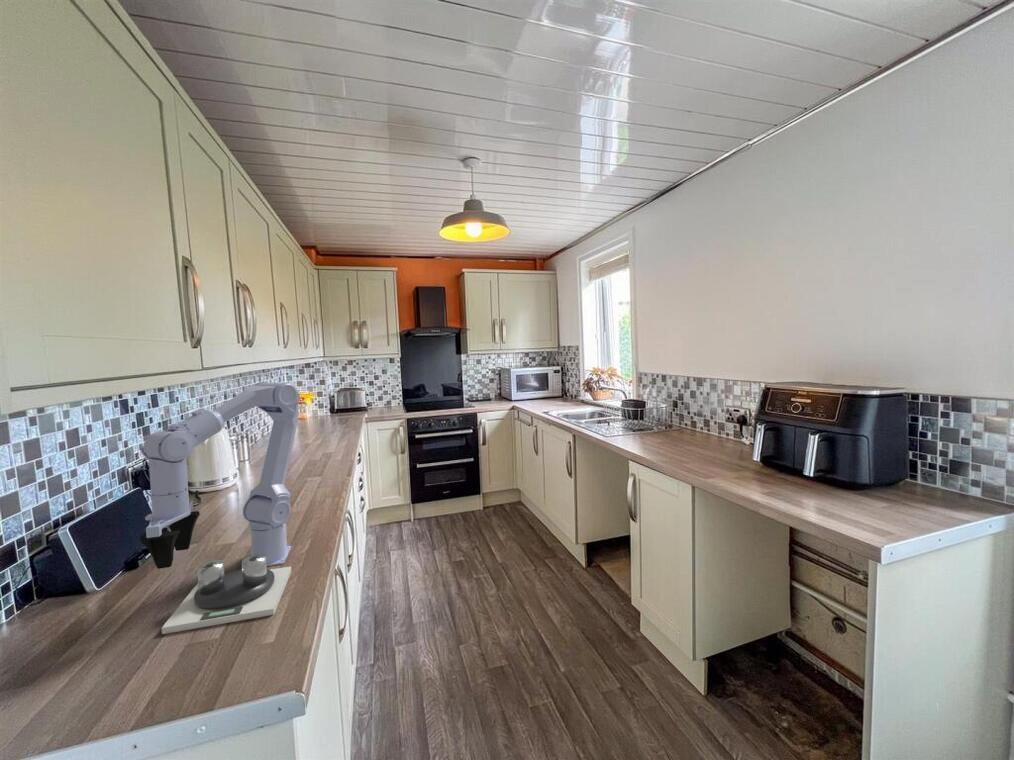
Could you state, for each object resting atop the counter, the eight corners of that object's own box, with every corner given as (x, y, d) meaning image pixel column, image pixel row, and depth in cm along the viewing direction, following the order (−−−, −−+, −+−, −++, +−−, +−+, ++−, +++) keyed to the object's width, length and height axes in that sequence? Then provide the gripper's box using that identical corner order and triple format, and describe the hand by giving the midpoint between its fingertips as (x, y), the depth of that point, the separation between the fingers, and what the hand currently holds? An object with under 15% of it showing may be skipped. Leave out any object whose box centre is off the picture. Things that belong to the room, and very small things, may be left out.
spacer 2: (245, 578, 88) (244, 555, 88) (268, 574, 90) (267, 552, 90) (240, 589, 84) (239, 565, 84) (264, 585, 86) (263, 561, 85)
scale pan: (210, 577, 91) (209, 573, 91) (281, 567, 95) (280, 563, 95) (181, 615, 77) (180, 611, 77) (265, 601, 81) (265, 597, 81)
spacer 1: (202, 585, 86) (200, 562, 86) (227, 580, 88) (225, 557, 87) (195, 596, 82) (194, 572, 81) (222, 591, 84) (221, 567, 83)
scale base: (200, 584, 91) (200, 577, 90) (291, 571, 96) (291, 564, 96) (162, 634, 74) (161, 625, 74) (273, 614, 80) (273, 606, 80)
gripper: (163, 482, 87) (167, 545, 88) (123, 506, 74) (128, 579, 74) (202, 479, 89) (206, 540, 90) (170, 501, 76) (175, 573, 76)
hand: (173, 558), depth 82 cm, fingers open, 7 cm apart
